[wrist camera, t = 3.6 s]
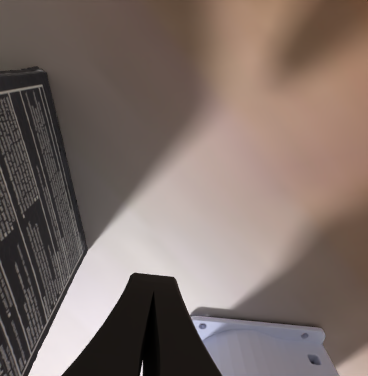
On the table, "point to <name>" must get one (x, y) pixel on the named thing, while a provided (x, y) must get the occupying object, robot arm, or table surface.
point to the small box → (33, 218)
